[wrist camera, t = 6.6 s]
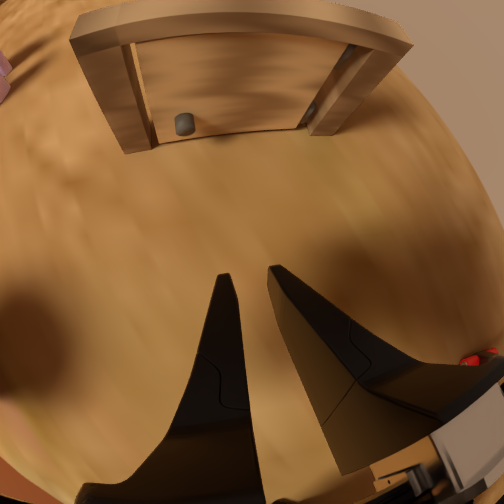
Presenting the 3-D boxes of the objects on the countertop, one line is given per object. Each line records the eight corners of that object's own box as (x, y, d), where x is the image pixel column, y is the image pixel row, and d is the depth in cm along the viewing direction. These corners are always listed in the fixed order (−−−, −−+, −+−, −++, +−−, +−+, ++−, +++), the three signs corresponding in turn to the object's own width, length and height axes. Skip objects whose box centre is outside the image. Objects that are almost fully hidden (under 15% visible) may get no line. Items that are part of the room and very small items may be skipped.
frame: (325, 115, 21) (397, 22, 10) (332, 135, 21) (413, 45, 10) (125, 131, 18) (79, 15, 7) (124, 154, 18) (68, 39, 7)
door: (302, 115, 20) (355, 30, 11) (309, 139, 20) (371, 57, 10) (157, 129, 18) (136, 29, 9) (160, 155, 18) (134, 58, 8)
